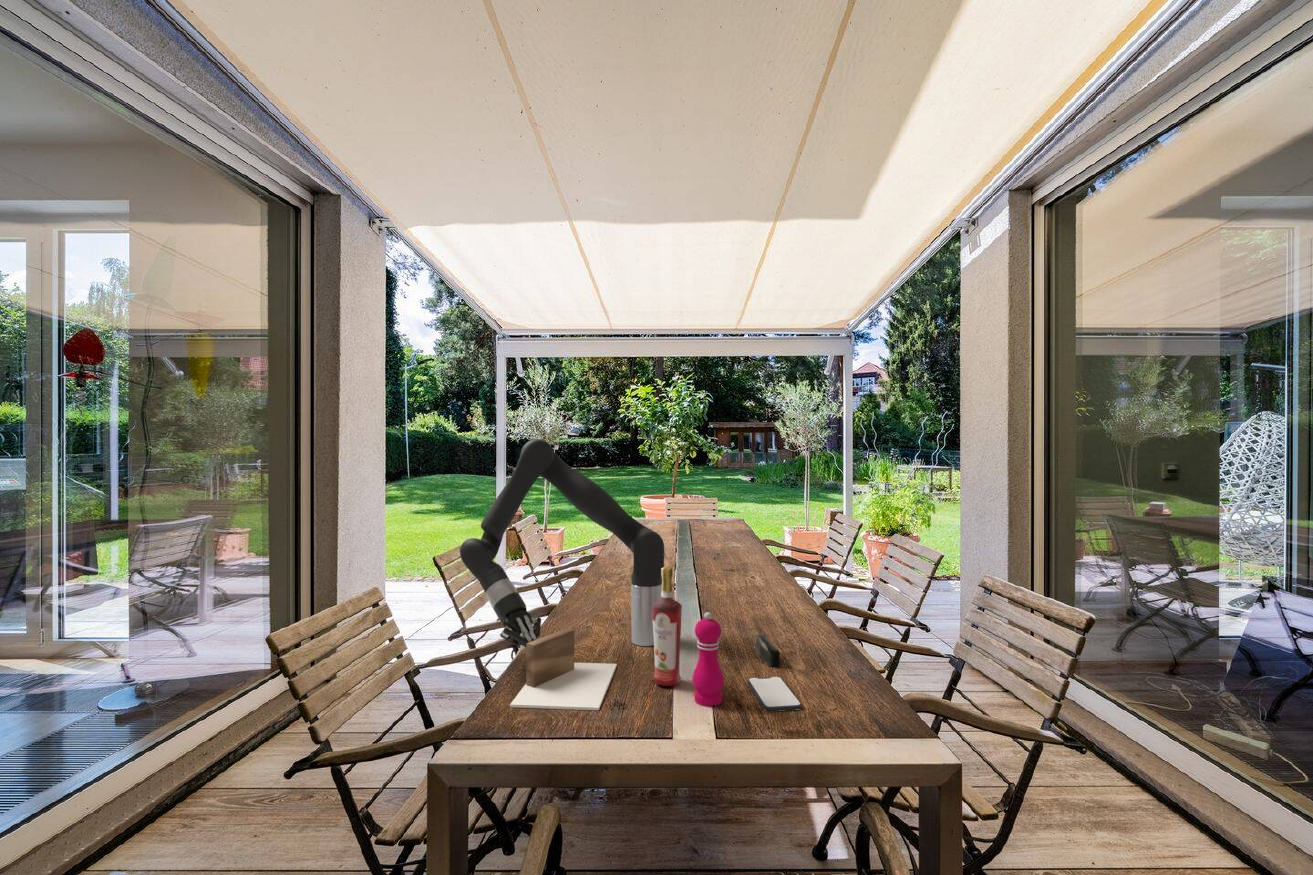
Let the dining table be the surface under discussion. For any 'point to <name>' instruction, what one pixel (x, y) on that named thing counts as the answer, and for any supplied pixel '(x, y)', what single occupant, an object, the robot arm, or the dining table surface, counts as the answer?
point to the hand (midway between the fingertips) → (537, 655)
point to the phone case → (773, 694)
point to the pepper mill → (708, 663)
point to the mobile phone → (767, 651)
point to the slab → (549, 657)
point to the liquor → (666, 633)
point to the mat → (570, 689)
